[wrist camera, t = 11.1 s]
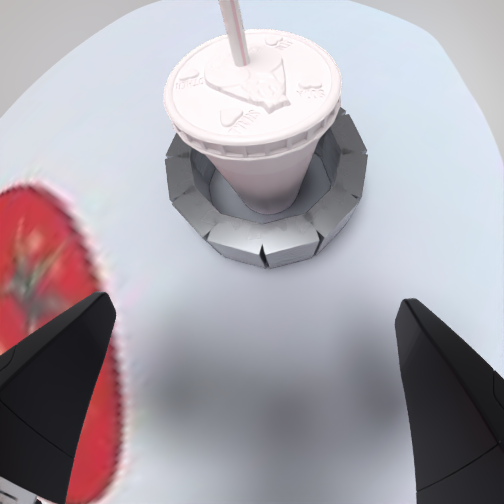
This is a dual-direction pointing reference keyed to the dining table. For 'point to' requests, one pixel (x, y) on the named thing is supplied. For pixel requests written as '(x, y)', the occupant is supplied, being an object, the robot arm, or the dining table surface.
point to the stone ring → (281, 231)
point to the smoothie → (255, 107)
